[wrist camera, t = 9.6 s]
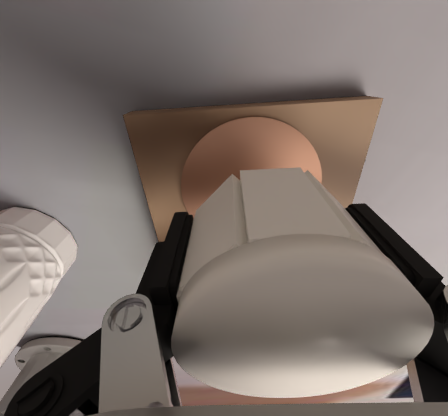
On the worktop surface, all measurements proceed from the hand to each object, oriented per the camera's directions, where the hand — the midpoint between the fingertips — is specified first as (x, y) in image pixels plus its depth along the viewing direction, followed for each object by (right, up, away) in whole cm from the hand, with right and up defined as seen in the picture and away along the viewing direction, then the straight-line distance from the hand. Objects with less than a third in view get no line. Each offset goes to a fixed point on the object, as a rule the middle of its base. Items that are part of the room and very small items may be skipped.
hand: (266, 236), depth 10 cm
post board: (0, -1, +8) cm, 8 cm away
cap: (0, 0, 0) cm, 0 cm away
